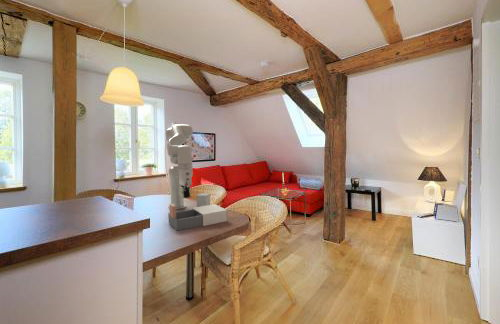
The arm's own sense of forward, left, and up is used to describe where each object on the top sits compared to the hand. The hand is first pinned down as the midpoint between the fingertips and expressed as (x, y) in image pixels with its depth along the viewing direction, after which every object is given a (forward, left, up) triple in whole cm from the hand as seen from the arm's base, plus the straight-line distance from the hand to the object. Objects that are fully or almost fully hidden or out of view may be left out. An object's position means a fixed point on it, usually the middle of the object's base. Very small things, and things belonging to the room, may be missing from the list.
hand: (185, 196), depth 146 cm
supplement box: (-19, +20, -18) cm, 33 cm away
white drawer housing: (0, +16, -17) cm, 24 cm away
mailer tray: (0, +1, -17) cm, 17 cm away
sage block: (0, 0, -1) cm, 1 cm away
